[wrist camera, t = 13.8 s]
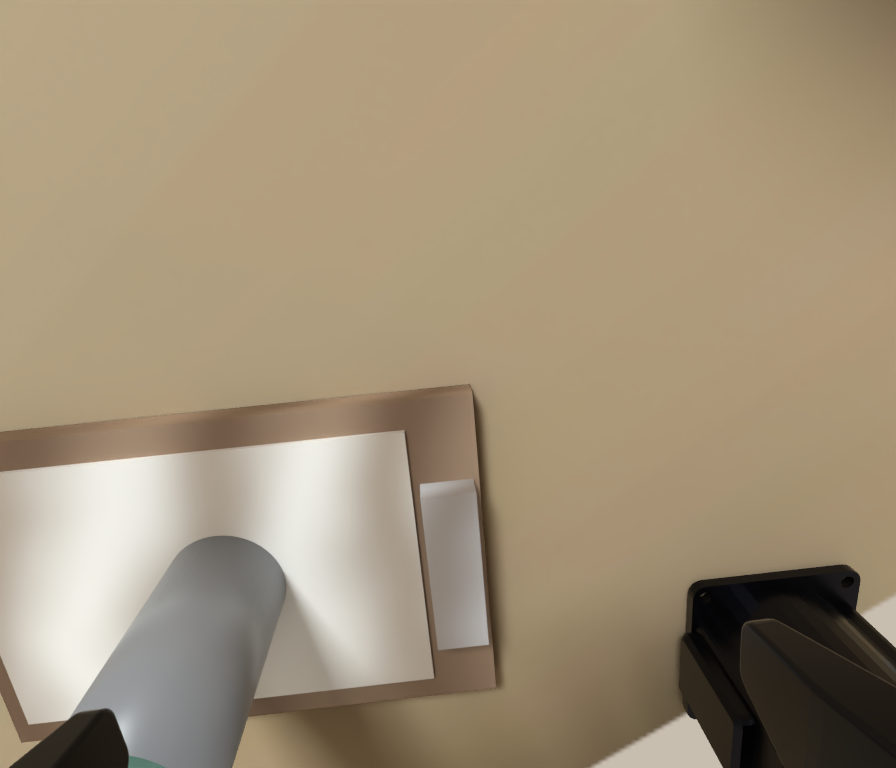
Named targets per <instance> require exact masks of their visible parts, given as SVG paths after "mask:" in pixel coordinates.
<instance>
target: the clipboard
mask: <svg viewBox="0 0 896 768" xmlns="http://www.w3.org/2000/svg"><path fill="white" fill-rule="evenodd" d="M212 536H234V537H240V538H243V539H247V540H249V541H252V542H254V543H256V544H258V545H259V546H261V547H263V548H264V549H265V550H267V551H268V552H269V553H270V554H271V555H272V556H273V557H274V558H275V559H276V560H277V562H278V563H279V565H280V567H281V568H282V571H283V573H284V576H285V580H286V596H285V600H284V603H283V606H282V610H281V613H280V616H279V619H278V622H277V626H276V629H275V632H274V635H273V638H272V642H271V645H270V648H269V651H268V654H267V658H266V661H265V664H264V667H263V670H262V673H261V677H260V680H259V683H258V686H257V689H256V693H255V696H254V699H253V702H252V705H251V709H250V712H249V715H248V716H257V715H266V714H274V713H283V712H292V711H301V710H309V709H318V708H327V707H335V706H344V705H353V704H361V703H370V702H379V701H388V700H396V699H405V698H414V697H422V696H431V695H440V694H449V693H457V692H466V691H475V690H483V689H492V688H496V681H495V668H494V656H493V643H492V631H491V618H490V606H489V593H488V581H487V568H486V556H485V543H484V531H483V518H482V506H481V493H480V481H479V468H478V456H477V443H476V431H475V418H474V406H473V394H472V390H471V387H470V384H468V385H458V386H448V387H438V388H428V389H418V390H409V391H399V392H389V393H379V394H369V395H359V396H349V397H340V398H330V399H320V400H310V401H300V402H290V403H281V404H271V405H261V406H251V407H241V408H231V409H222V410H212V411H202V412H192V413H182V414H172V415H163V416H153V417H143V418H133V419H123V420H113V421H104V422H94V423H84V424H74V425H64V426H54V427H45V428H35V429H25V430H15V431H5V432H0V692H1V695H2V697H3V700H4V702H5V704H6V707H7V709H8V711H9V714H10V716H11V719H12V721H13V723H14V726H15V728H16V731H17V733H18V735H19V738H20V740H21V743H22V742H31V741H39V740H44V739H45V738H46V737H47V736H49V735H50V734H51V733H52V732H54V731H55V730H56V729H57V728H58V727H60V726H61V725H62V724H63V723H65V722H66V721H67V720H68V719H69V718H70V716H71V715H72V713H73V712H74V710H75V709H76V707H77V706H78V704H79V703H80V701H81V700H82V698H83V697H84V695H85V694H86V692H87V690H88V689H89V687H90V686H91V684H92V683H93V681H94V680H95V678H96V677H97V675H98V674H99V672H100V671H101V669H102V668H103V666H104V665H105V663H106V662H107V660H108V659H109V657H110V656H111V654H112V652H113V651H114V649H115V648H116V646H117V645H118V643H119V642H120V640H121V639H122V637H123V636H124V634H125V633H126V631H127V630H128V628H129V627H130V625H131V624H132V622H133V621H134V619H135V618H136V616H137V615H138V613H139V611H140V610H141V608H142V607H143V605H144V604H145V602H146V601H147V599H148V598H149V596H150V595H151V593H152V592H153V590H154V589H155V587H156V586H157V584H158V583H159V581H160V580H161V578H162V577H163V575H164V574H165V572H166V570H167V569H168V567H169V566H170V564H171V563H172V561H173V560H174V558H175V557H176V556H177V554H178V553H179V552H180V551H181V550H183V549H184V548H185V547H186V546H188V545H189V544H191V543H193V542H195V541H197V540H200V539H203V538H206V537H212Z"/></svg>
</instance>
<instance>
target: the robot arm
mask: <svg viewBox="0 0 896 768" xmlns="http://www.w3.org/2000/svg"><path fill="white" fill-rule="evenodd" d="M845 577H846V578H845ZM844 578H845V579H844ZM859 586H860V576H859V574H858V573H857V572H856V571H855V570H853V569H852V568H851V567H850V566H848V565H834V566H825V567H816V568H807V569H798V570H789V571H780V572H771V573H762V574H753V575H744V576H735V577H726V578H717V579H708V580H700V581H697V582H695V583H694V584H692V585H691V587H690V588H689V591H688V607H687V628H686V633H685V634H684V636H683V637H682V639H681V660H680V683H679V686H680V689H681V691H682V693H683V706H684V708H685V710H686V712H687V714H688V715H689V716H690V717H691V718H693V719H697V720H698V722H699V724H700V726H701V728H702V730H703V731H704V733H705V735H706V737H707V739H708V740H709V742H710V744H711V746H712V748H713V750H714V752H715V754H716V755H717V757H718V759H719V761H720V763H721V764H722V766H723V768H896V648H895V647H894V646H893V645H892V644H891V643H890V642H889V641H888V640H887V639H886V638H885V637H883V636H882V635H881V634H880V633H879V632H878V631H877V630H876V629H875V628H874V627H873V626H872V625H871V624H870V623H869V622H867V621H866V620H865V619H864V618H863V617H862V616H861V615H860V614H859V613H858V612H857V611H856V605H857V599H858V592H859ZM705 592H707V593H706V594H705V595H704V596H701V597H700V595H702V594H703V593H705ZM128 764H129V752H128V748H127V745H126V742H125V740H124V737H123V735H122V732H121V729H120V727H119V724H118V721H117V719H116V716H115V714H114V712H113V711H112V710H110V709H109V708H100V709H92V710H85V711H81V712H78V713H76V714H75V715H73V716H72V717H71V718H70V719H68V720H67V721H66V722H65V723H63V724H62V725H61V726H60V727H58V728H57V729H56V730H55V731H54V732H52V733H51V734H50V735H49V736H47V737H46V738H45V739H44V740H42V741H41V742H40V743H39V744H37V745H36V746H35V747H34V748H33V749H31V750H30V751H29V752H28V753H26V754H25V755H24V756H23V757H21V758H20V759H19V760H18V761H16V762H15V763H14V764H13V765H12V766H10V767H9V768H128Z"/></svg>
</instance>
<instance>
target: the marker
mask: <svg viewBox="0 0 896 768" xmlns="http://www.w3.org/2000/svg"><path fill="white" fill-rule="evenodd" d="M285 596H286V580H285V576H284V573H283V571H282V568H281V567H280V565H279V563H278V562H277V560H276V559H275V558H274V557H273V556H272V555H271V554H270V553H269V552H268V551H267V550H265V549H264V548H263V547H261V546H259V545H258V544H256V543H254V542H252V541H249V540H247V539H243V538H240V537H234V536H212V537H206V538H203V539H200V540H197V541H195V542H193V543H191V544H189V545H188V546H186V547H185V548H184V549H183V550H181V551H180V552H179V553H178V554H177V556H176V557H175V558H174V560H173V561H172V563H171V564H170V566H169V567H168V569H167V570H166V572H165V574H164V575H163V577H162V578H161V580H160V581H159V583H158V584H157V586H156V587H155V589H154V590H153V592H152V593H151V595H150V596H149V598H148V599H147V601H146V602H145V604H144V605H143V607H142V608H141V610H140V611H139V613H138V615H137V616H136V618H135V619H134V621H133V622H132V624H131V625H130V627H129V628H128V630H127V631H126V633H125V634H124V636H123V637H122V639H121V640H120V642H119V643H118V645H117V646H116V648H115V649H114V651H113V652H112V654H111V656H110V657H109V659H108V660H107V662H106V663H105V665H104V666H103V668H102V669H101V671H100V672H99V674H98V675H97V677H96V678H95V680H94V681H93V683H92V684H91V686H90V687H89V689H88V690H87V692H86V694H85V695H84V697H83V698H82V700H81V701H80V703H79V704H78V706H77V707H76V709H75V710H74V712H73V713H72V715H71V716H70V718H71V717H72V716H73V715H75V714H76V713H78V712H81V711H85V710H92V709H100V708H109V709H110V710H112V711H113V712H114V714H115V716H116V719H117V721H118V724H119V727H120V729H121V732H122V735H123V737H124V740H125V742H126V745H127V748H128V752H129V764H128V768H232V766H233V763H234V760H235V756H236V753H237V750H238V747H239V744H240V741H241V737H242V734H243V731H244V728H245V725H246V721H247V718H248V715H249V712H250V709H251V705H252V702H253V699H254V696H255V693H256V689H257V686H258V683H259V680H260V677H261V673H262V670H263V667H264V664H265V661H266V658H267V654H268V651H269V648H270V645H271V642H272V638H273V635H274V632H275V629H276V626H277V622H278V619H279V616H280V613H281V610H282V606H283V603H284V600H285ZM70 718H69V719H70Z"/></svg>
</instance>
